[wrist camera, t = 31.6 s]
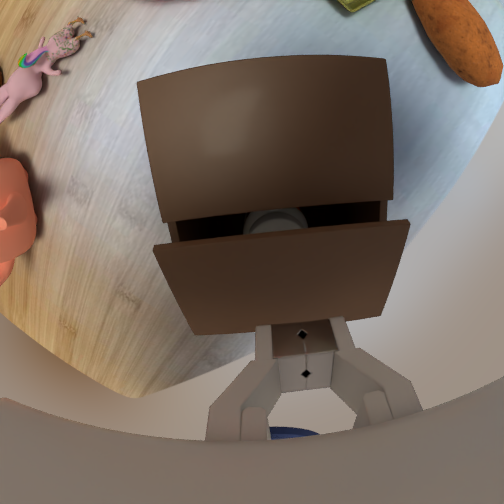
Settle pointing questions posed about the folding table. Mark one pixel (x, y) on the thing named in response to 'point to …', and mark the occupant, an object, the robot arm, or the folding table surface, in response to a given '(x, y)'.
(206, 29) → the folding table surface
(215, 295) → the flap
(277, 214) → the pill bottle
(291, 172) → the carton
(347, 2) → the olive green tray
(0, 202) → the teapot
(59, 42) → the pink animal figure
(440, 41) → the potato
